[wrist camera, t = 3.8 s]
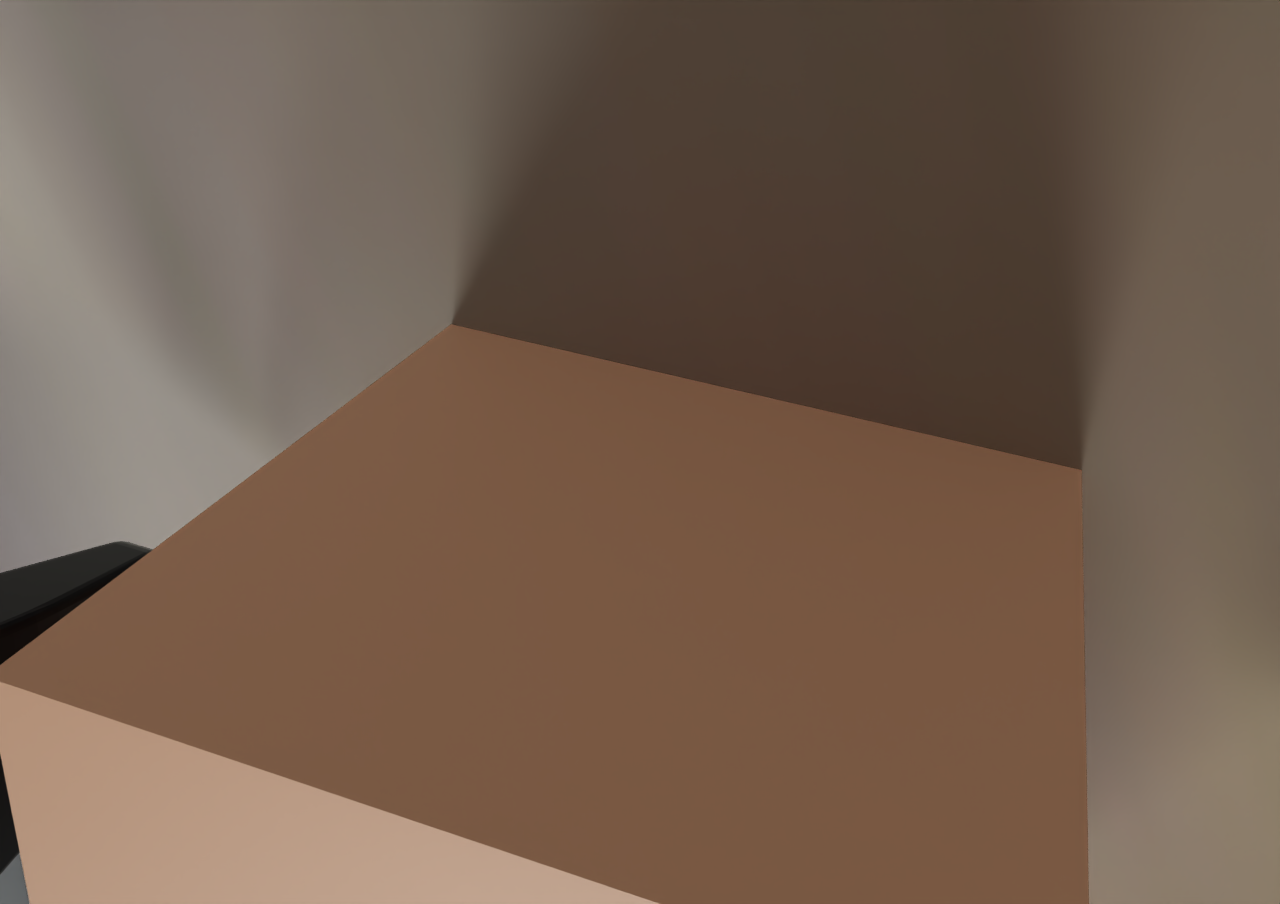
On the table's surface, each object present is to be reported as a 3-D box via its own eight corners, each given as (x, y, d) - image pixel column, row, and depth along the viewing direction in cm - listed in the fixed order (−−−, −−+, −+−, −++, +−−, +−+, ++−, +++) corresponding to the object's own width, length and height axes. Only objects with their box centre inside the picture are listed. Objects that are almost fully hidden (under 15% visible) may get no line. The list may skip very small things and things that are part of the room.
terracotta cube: (1080, 465, 9) (1091, 1048, 4) (930, 934, 11) (843, 1608, 7) (456, 320, 10) (-15, 677, 6) (440, 775, 12) (102, 1267, 8)
